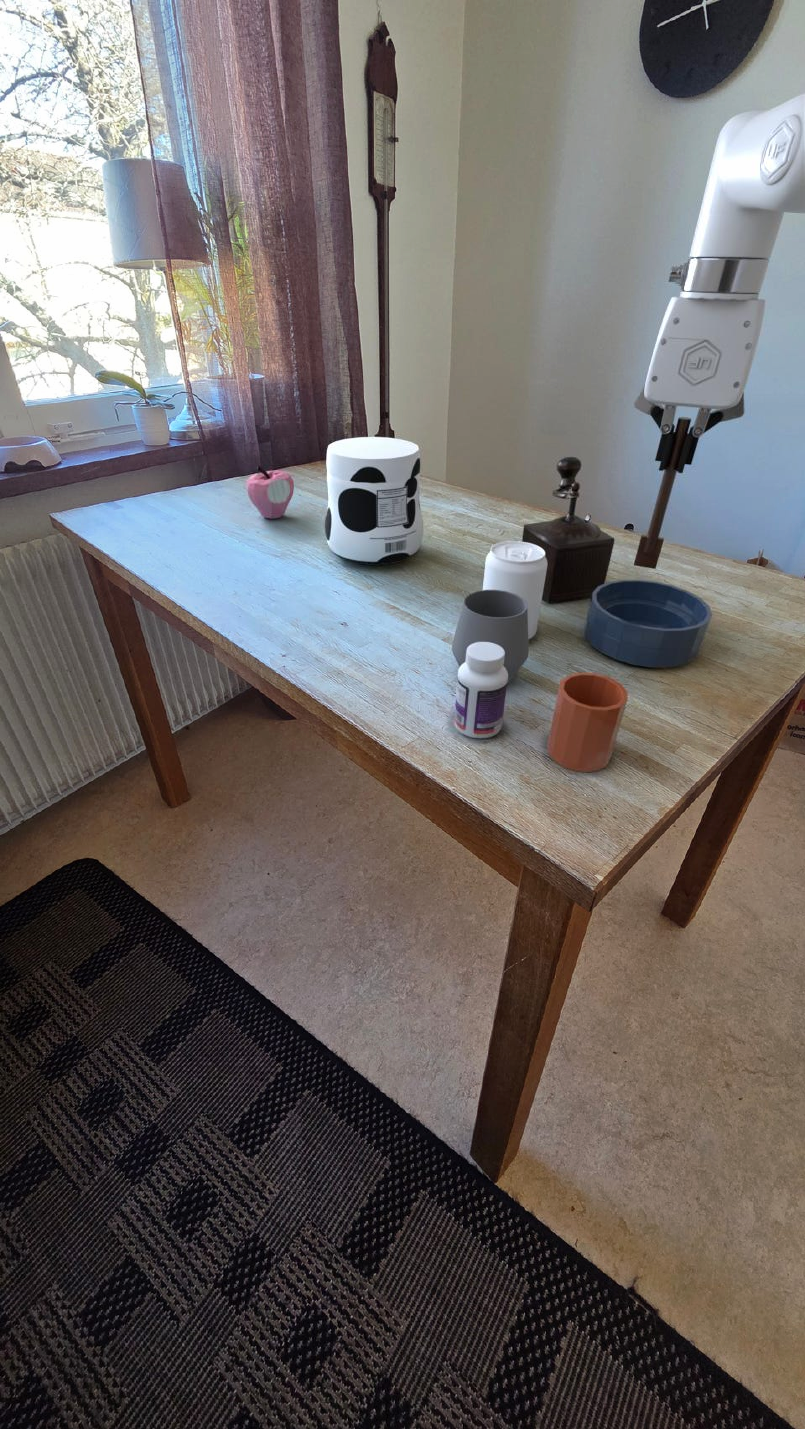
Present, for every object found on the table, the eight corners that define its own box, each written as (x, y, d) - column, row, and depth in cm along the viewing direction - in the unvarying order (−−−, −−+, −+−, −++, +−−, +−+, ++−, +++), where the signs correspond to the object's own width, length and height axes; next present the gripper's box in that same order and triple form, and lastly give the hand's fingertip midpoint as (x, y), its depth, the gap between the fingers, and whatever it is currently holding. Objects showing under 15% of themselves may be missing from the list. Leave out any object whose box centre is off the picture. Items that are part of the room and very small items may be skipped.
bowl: (722, 659, 81) (738, 619, 77) (630, 680, 76) (642, 639, 72) (646, 610, 92) (657, 573, 88) (562, 626, 87) (569, 588, 84)
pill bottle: (507, 718, 69) (518, 644, 63) (493, 745, 65) (503, 669, 60) (463, 706, 71) (469, 633, 65) (446, 731, 67) (452, 657, 61)
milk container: (355, 530, 118) (352, 431, 107) (437, 545, 112) (442, 442, 101) (308, 561, 105) (299, 452, 95) (397, 580, 100) (398, 466, 89)
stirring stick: (656, 566, 80) (698, 418, 69) (655, 570, 79) (697, 420, 68) (634, 562, 81) (672, 416, 70) (633, 566, 80) (671, 418, 69)
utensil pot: (623, 763, 63) (642, 701, 58) (569, 778, 61) (584, 715, 56) (586, 727, 68) (600, 667, 63) (534, 740, 66) (546, 679, 61)
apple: (259, 526, 119) (253, 474, 113) (243, 514, 125) (236, 463, 119) (303, 518, 123) (299, 467, 117) (286, 507, 129) (281, 457, 123)
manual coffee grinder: (608, 595, 96) (635, 478, 85) (547, 605, 93) (568, 485, 82) (556, 559, 108) (575, 452, 97) (501, 566, 105) (514, 457, 94)
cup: (517, 655, 81) (527, 586, 75) (530, 695, 73) (543, 622, 67) (447, 655, 80) (451, 586, 74) (453, 695, 73) (459, 621, 67)
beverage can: (537, 622, 88) (550, 543, 81) (534, 649, 82) (548, 566, 75) (482, 615, 90) (490, 537, 83) (475, 642, 83) (483, 559, 76)
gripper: (639, 280, 61) (600, 469, 72) (812, 284, 56) (742, 486, 67) (646, 279, 67) (609, 454, 78) (804, 283, 62) (741, 469, 73)
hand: (671, 468), depth 73 cm, fingers closed on stirring stick, 1 cm apart
